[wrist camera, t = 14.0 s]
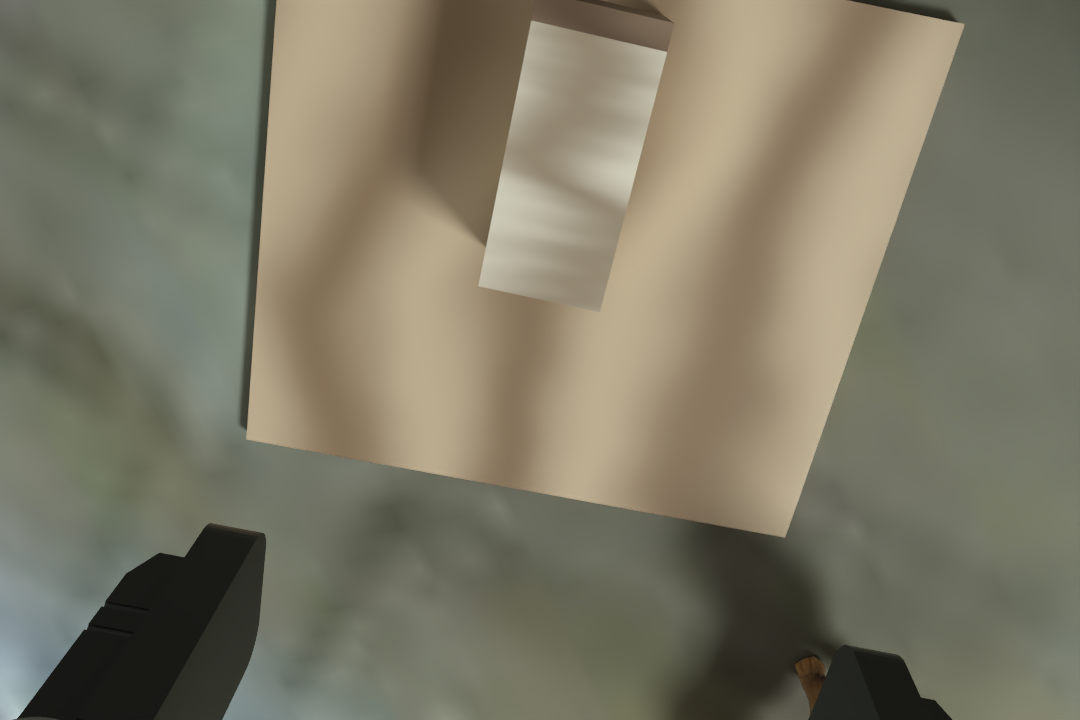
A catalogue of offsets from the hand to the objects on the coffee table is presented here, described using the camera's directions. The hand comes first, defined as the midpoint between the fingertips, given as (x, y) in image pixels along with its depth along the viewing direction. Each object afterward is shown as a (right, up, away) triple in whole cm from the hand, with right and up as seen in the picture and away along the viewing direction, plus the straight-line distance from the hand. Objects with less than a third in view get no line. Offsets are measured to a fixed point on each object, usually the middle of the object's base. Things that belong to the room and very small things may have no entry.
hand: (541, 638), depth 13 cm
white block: (0, +7, +19) cm, 20 cm away
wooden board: (+1, +8, +21) cm, 23 cm away
